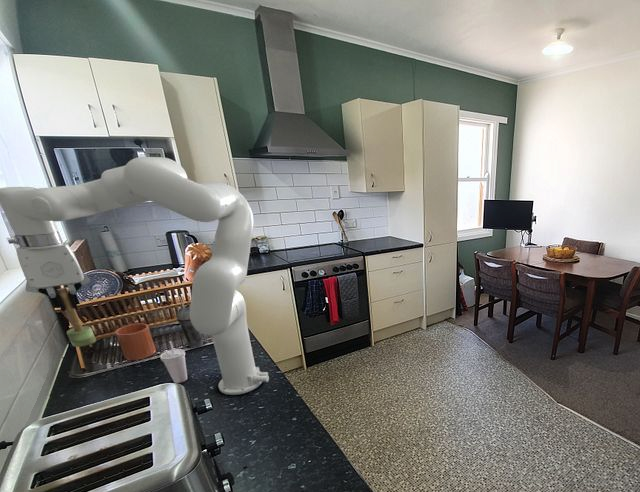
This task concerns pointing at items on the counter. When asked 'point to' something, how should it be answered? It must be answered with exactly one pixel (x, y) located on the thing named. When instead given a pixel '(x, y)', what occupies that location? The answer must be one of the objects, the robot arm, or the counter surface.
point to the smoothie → (175, 363)
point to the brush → (76, 323)
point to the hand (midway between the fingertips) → (69, 308)
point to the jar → (135, 341)
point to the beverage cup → (188, 326)
